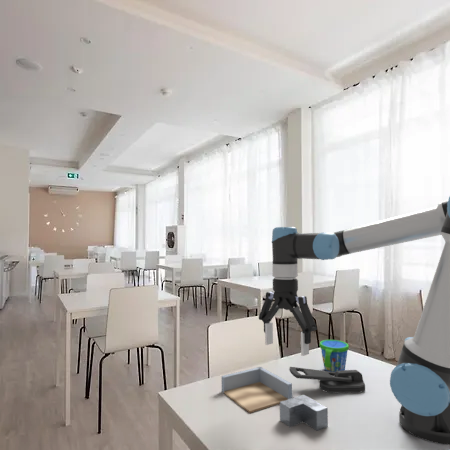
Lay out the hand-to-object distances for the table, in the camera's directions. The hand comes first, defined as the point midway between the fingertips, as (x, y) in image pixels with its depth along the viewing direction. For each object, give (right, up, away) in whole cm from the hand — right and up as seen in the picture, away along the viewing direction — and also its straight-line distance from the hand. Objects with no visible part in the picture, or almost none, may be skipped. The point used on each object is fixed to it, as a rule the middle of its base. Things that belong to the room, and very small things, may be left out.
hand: (286, 349), depth 102 cm
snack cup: (+24, -19, +28) cm, 41 cm away
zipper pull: (+16, -18, +12) cm, 27 cm away
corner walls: (-8, -18, +7) cm, 21 cm away
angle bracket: (+3, -17, -9) cm, 19 cm away
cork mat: (-9, -18, +6) cm, 21 cm away
